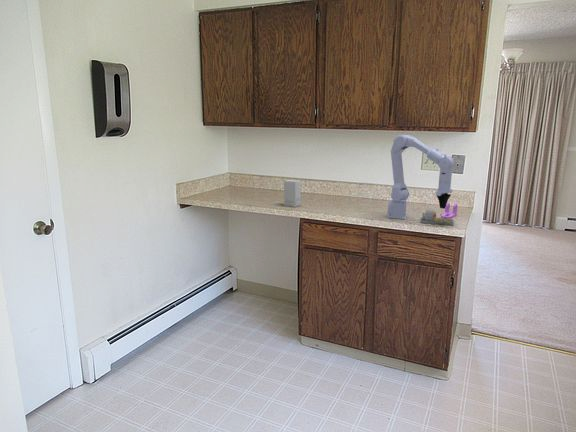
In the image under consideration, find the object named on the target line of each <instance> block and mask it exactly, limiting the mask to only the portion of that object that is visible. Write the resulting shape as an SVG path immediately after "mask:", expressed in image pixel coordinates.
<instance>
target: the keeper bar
mask: <svg viewBox="0 0 576 432" xmlns="http://www.w3.org/2000/svg"><path fill="white" fill-rule="evenodd" d="M453 219H454V218H452V219H447V218H441V217H436V218H435V217H434V221H440V222H451V223H452V221H453Z"/></svg>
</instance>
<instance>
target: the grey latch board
mask: <svg viewBox="0 0 576 432" xmlns="http://www.w3.org/2000/svg"><path fill="white" fill-rule="evenodd" d="M421 218H423V217H422V216H421ZM444 218H447V217H444ZM419 223H420V224H428V225H436V226H437V225H439V226H448V225H449V226H450V227H454V220H453V221H452V223H451V222H440V221H425V220H421V219H420V221H419Z"/></svg>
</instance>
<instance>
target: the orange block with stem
mask: <svg viewBox="0 0 576 432" xmlns="http://www.w3.org/2000/svg"><path fill="white" fill-rule="evenodd" d="M425 213H426V212H422V215H421V218H422V217H423V218H425ZM434 217H435V218H437V211H436V212H435V211H434V215H433V219H434Z"/></svg>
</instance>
